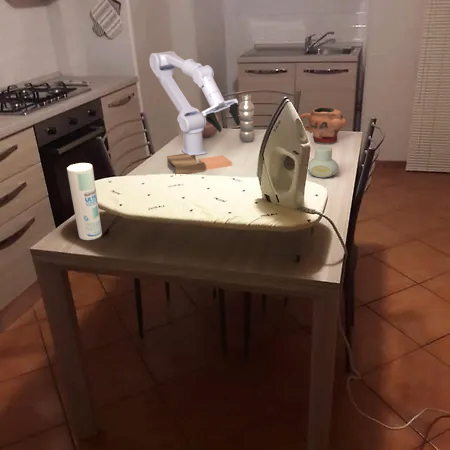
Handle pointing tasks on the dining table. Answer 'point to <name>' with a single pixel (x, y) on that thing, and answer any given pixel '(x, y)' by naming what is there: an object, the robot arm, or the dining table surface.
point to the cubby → (184, 164)
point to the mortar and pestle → (209, 129)
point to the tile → (215, 162)
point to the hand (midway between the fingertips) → (229, 127)
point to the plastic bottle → (246, 119)
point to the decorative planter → (324, 124)
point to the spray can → (85, 200)
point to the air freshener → (323, 163)
